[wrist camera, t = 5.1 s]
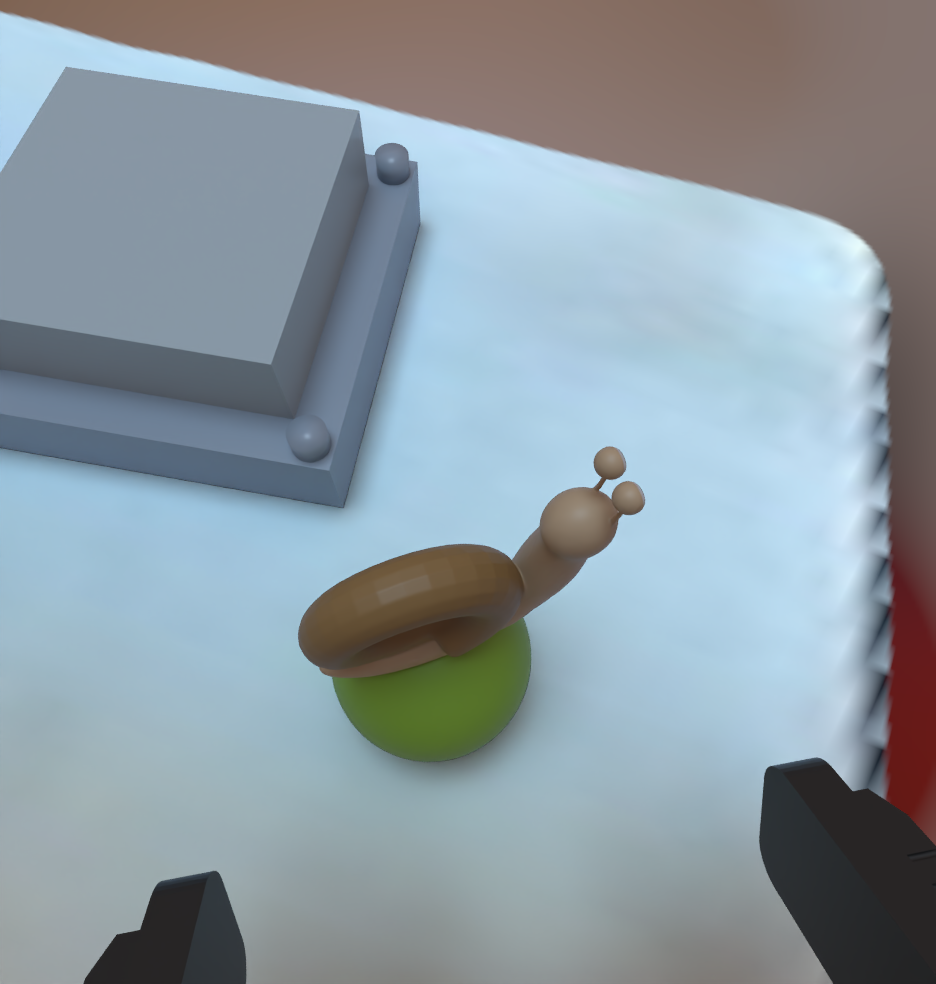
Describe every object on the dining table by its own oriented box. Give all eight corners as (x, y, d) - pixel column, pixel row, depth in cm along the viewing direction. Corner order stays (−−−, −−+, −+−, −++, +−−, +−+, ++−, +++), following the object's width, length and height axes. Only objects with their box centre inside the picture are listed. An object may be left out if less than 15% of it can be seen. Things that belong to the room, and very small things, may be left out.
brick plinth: (343, 508, 23) (310, 422, 18) (-21, 443, 24) (-162, 341, 18) (420, 222, 28) (413, 86, 23) (119, 175, 29) (41, 31, 23)
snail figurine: (578, 709, 21) (726, 627, 10) (378, 794, 20) (289, 809, 9) (509, 551, 23) (566, 334, 12) (323, 621, 22) (195, 452, 11)
